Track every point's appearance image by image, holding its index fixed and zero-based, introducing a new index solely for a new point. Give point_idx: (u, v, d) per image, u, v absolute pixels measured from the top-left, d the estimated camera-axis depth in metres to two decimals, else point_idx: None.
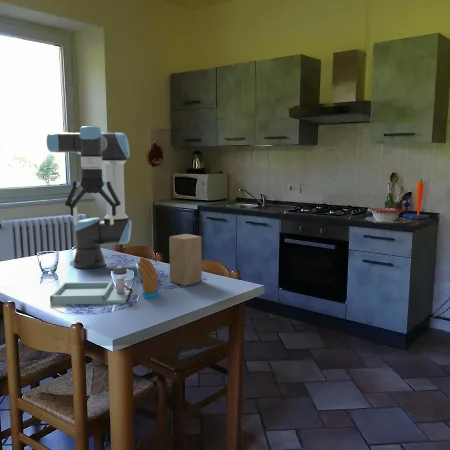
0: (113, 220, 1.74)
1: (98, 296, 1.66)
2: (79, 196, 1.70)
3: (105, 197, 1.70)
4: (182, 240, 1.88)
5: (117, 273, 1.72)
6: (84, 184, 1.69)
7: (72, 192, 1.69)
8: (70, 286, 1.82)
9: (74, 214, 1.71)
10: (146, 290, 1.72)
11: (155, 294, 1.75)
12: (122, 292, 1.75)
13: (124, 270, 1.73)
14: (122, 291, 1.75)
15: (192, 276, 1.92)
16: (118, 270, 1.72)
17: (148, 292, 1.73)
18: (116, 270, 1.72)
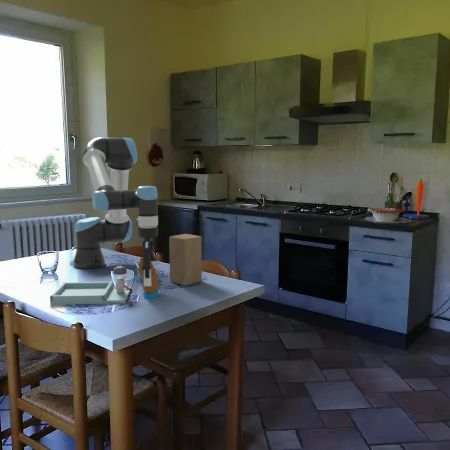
0: (150, 282, 1.70)
1: (98, 296, 1.66)
2: None
3: None
4: (182, 240, 1.88)
5: (117, 273, 1.72)
6: None
7: None
8: (70, 286, 1.82)
9: None
10: (146, 290, 1.72)
11: (155, 294, 1.75)
12: (122, 292, 1.75)
13: (124, 270, 1.73)
14: (122, 291, 1.75)
15: (192, 276, 1.92)
16: (118, 270, 1.72)
17: (148, 292, 1.73)
18: (116, 270, 1.72)
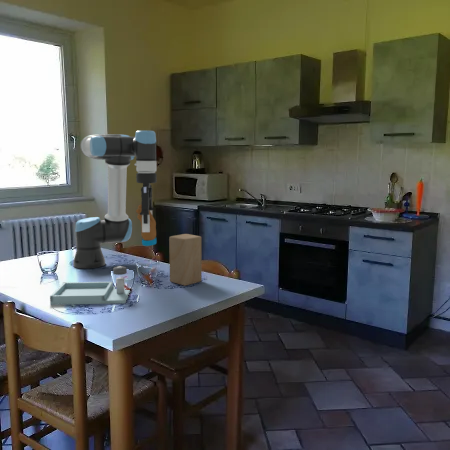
0: (149, 228, 1.67)
1: (98, 296, 1.66)
2: None
3: None
4: (182, 240, 1.88)
5: (117, 273, 1.72)
6: None
7: None
8: (70, 286, 1.82)
9: None
10: (144, 237, 1.69)
11: (154, 242, 1.72)
12: (122, 292, 1.75)
13: (124, 270, 1.73)
14: (122, 291, 1.75)
15: (192, 276, 1.92)
16: (118, 270, 1.72)
17: (146, 239, 1.70)
18: (116, 270, 1.72)
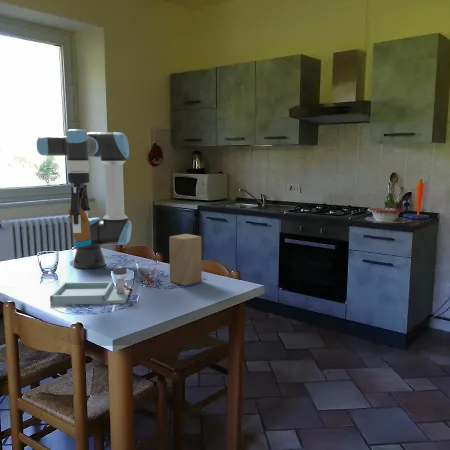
0: (80, 229, 1.65)
1: (98, 296, 1.66)
2: None
3: None
4: (182, 240, 1.88)
5: (117, 273, 1.72)
6: None
7: None
8: (70, 286, 1.82)
9: None
10: (76, 237, 1.66)
11: (87, 242, 1.69)
12: (122, 292, 1.75)
13: (124, 270, 1.73)
14: (122, 291, 1.75)
15: (192, 276, 1.92)
16: (118, 270, 1.72)
17: (78, 240, 1.67)
18: (116, 270, 1.72)
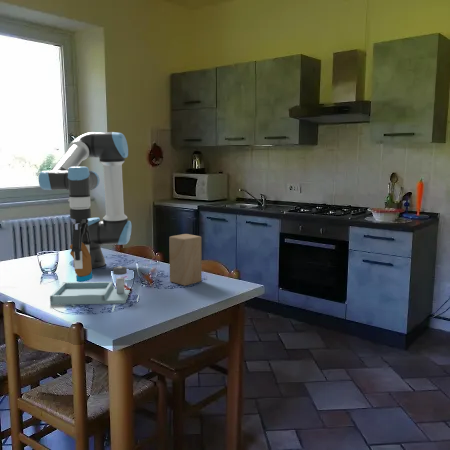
0: (81, 265, 1.67)
1: (98, 296, 1.66)
2: None
3: None
4: (182, 240, 1.88)
5: (117, 273, 1.72)
6: None
7: None
8: (70, 286, 1.82)
9: None
10: (77, 273, 1.68)
11: (88, 277, 1.71)
12: (122, 292, 1.75)
13: (124, 270, 1.73)
14: (122, 291, 1.75)
15: (192, 276, 1.92)
16: (118, 270, 1.72)
17: (80, 275, 1.69)
18: (116, 270, 1.72)
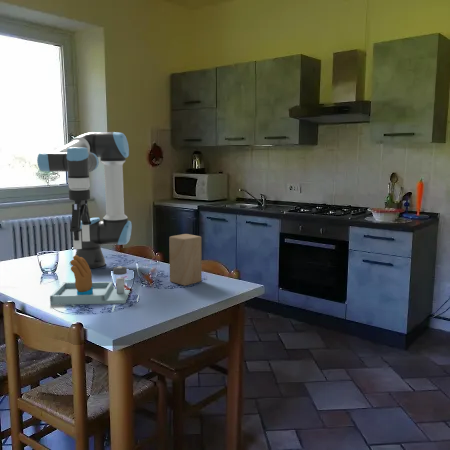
0: (80, 245, 1.65)
1: (98, 296, 1.66)
2: None
3: None
4: (182, 240, 1.88)
5: (117, 273, 1.72)
6: None
7: None
8: (70, 286, 1.82)
9: (82, 231, 1.78)
10: (78, 288, 1.69)
11: (88, 292, 1.72)
12: (122, 292, 1.75)
13: (124, 270, 1.73)
14: (122, 291, 1.75)
15: (192, 276, 1.92)
16: (118, 270, 1.72)
17: (80, 290, 1.70)
18: (116, 270, 1.72)
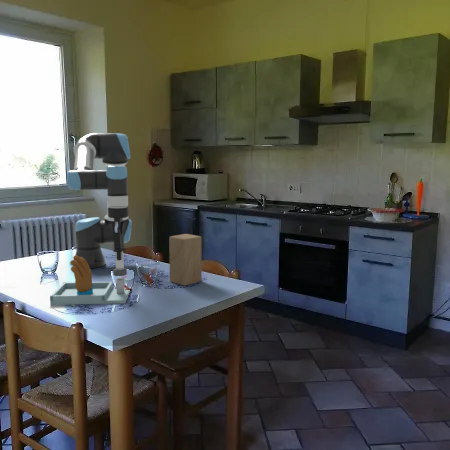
0: (122, 264, 1.73)
1: (98, 296, 1.66)
2: None
3: None
4: (182, 240, 1.88)
5: (117, 274, 1.72)
6: None
7: None
8: (70, 286, 1.82)
9: (116, 257, 1.74)
10: (78, 289, 1.69)
11: (88, 293, 1.72)
12: (122, 292, 1.75)
13: (124, 271, 1.73)
14: (122, 291, 1.75)
15: (192, 276, 1.92)
16: (118, 271, 1.72)
17: (80, 291, 1.70)
18: (116, 271, 1.72)
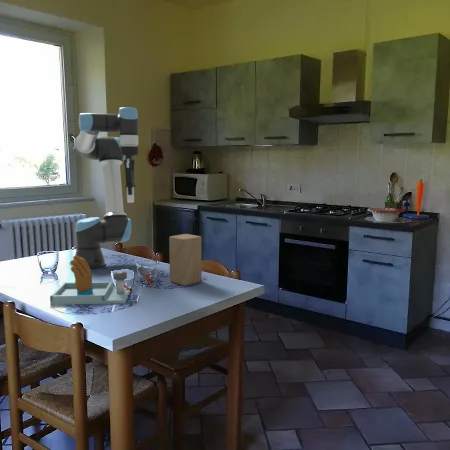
0: (133, 199, 1.91)
1: (98, 296, 1.66)
2: None
3: None
4: (182, 240, 1.88)
5: (117, 278, 1.73)
6: None
7: None
8: (70, 286, 1.82)
9: (127, 192, 1.91)
10: (78, 289, 1.69)
11: (88, 293, 1.72)
12: (122, 292, 1.75)
13: (124, 275, 1.73)
14: (122, 291, 1.75)
15: (192, 276, 1.92)
16: (118, 275, 1.72)
17: (80, 291, 1.70)
18: (116, 275, 1.72)
